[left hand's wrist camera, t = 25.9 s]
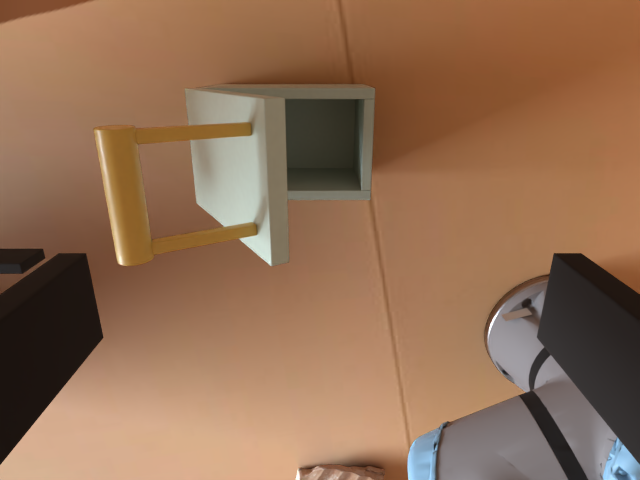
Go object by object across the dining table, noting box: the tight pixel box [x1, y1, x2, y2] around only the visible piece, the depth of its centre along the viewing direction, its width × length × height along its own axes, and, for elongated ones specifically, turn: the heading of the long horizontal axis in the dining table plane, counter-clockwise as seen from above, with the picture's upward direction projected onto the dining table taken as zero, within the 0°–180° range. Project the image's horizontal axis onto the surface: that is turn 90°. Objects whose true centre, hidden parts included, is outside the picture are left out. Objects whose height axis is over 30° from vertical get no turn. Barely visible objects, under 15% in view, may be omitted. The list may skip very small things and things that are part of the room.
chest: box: [198, 84, 375, 200], centre depth 42 cm, size 14×9×10 cm, turn 90°
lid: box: [93, 88, 289, 266], centre depth 29 cm, size 15×9×9 cm
